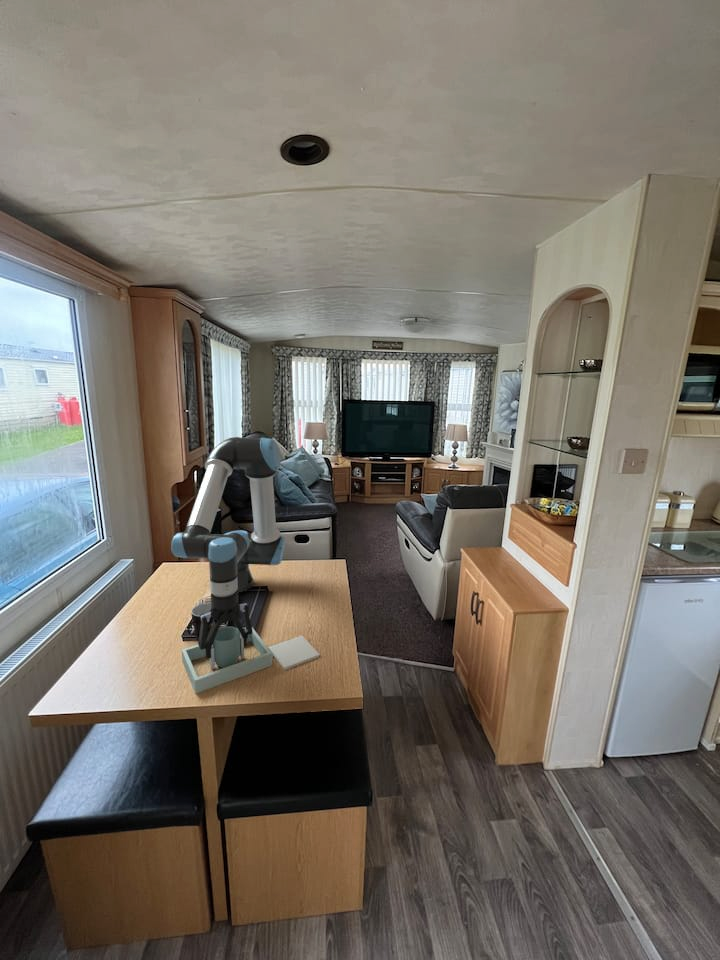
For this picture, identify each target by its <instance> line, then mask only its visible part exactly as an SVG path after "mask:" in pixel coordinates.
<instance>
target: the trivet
mask: <svg viewBox="0 0 720 960" xmlns="http://www.w3.org/2000/svg"><path fill="white" fill-rule="evenodd" d="M267 647H268V649H269V650H270V651H271V653H272V657H273V658H274V659H275V660H276V662H277V663H278V664H279V666H280V667H281V668H282V670H283V671H286V670H288V669H291V668H294V667H296V666H299V665H302V664H304V663H307V662H309V661H311V660H314V659H317V658H320V655H321V654H320V653H319V652H318V651H317V650H316V649H315V647H314V646H313V645H311V643H310V642H309V641H308V640H307V639H306V638H305V637H304V636H303V635H299V636H296V637H294V638H290V639H287V640H285V641H282V642H279V643H277V644H273V645H271V646H270V645H269V646H267Z"/></svg>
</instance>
